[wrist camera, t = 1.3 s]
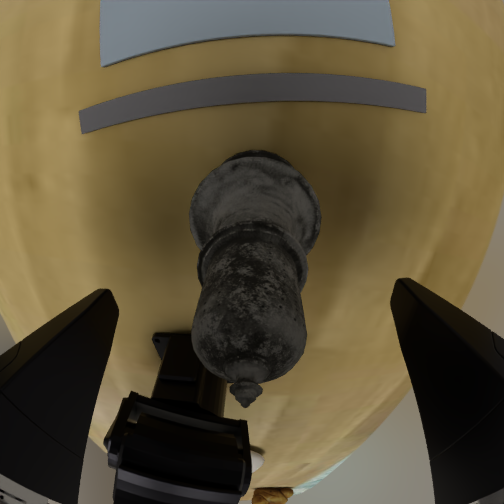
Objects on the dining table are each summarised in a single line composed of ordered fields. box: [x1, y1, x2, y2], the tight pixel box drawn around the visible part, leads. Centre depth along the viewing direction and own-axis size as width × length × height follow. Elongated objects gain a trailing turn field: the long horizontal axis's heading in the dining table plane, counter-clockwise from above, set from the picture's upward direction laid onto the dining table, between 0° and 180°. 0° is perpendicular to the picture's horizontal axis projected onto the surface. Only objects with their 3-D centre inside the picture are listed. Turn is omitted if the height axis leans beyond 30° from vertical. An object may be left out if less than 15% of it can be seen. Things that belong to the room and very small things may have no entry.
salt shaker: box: [189, 150, 321, 408], centre depth 10 cm, size 6×6×12 cm
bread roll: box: [252, 488, 293, 504], centre depth 58 cm, size 13×10×8 cm
